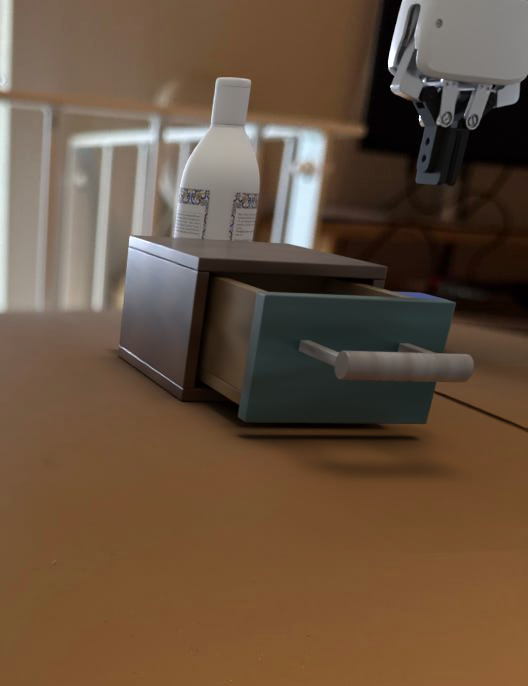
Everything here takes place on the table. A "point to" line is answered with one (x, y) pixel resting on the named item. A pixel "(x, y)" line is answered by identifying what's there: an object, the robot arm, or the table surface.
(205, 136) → the bath foam
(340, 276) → the cabinet
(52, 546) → the table surface
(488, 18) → the robot arm
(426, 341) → the teal drawer
